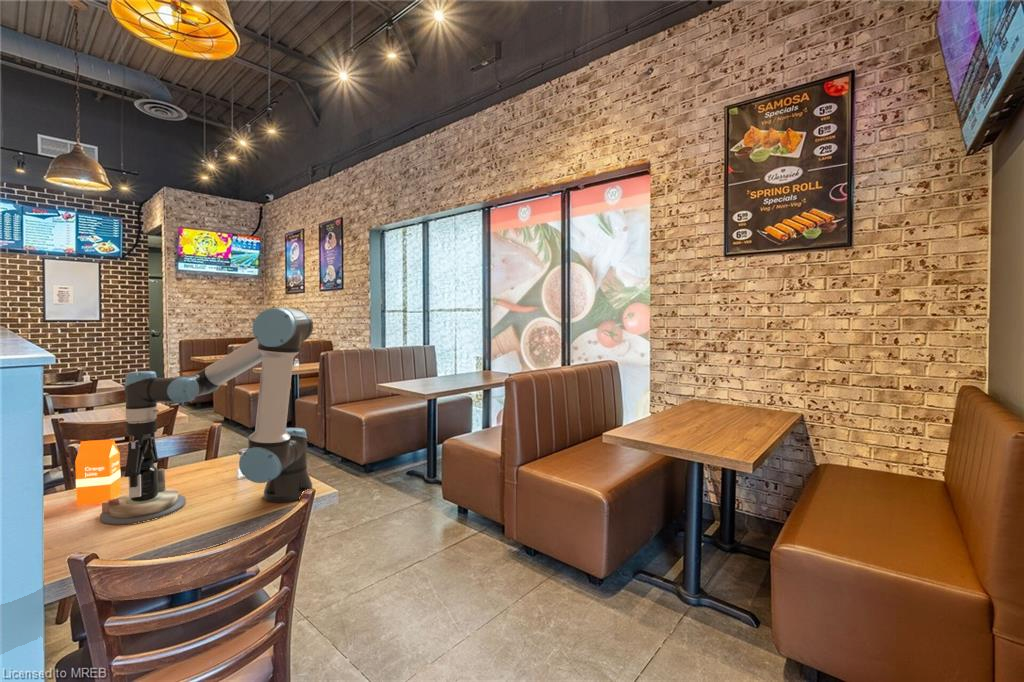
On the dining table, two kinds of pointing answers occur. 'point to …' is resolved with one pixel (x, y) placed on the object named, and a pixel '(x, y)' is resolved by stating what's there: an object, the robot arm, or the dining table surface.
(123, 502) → the turntable
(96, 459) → the orange juice
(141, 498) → the supplement bottle
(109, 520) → the base
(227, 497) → the dining table surface
